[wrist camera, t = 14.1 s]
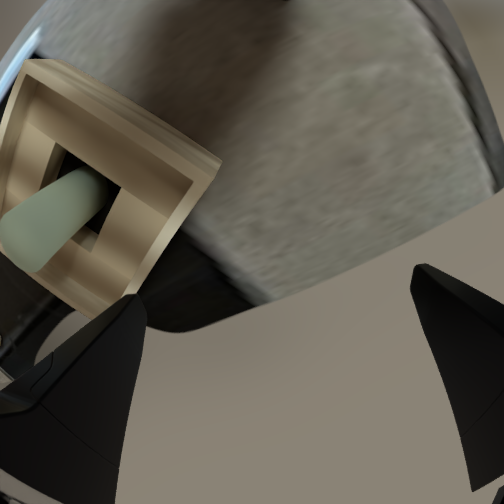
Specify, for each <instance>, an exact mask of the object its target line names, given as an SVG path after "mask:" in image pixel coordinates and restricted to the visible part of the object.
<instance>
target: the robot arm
mask: <svg viewBox="0 0 504 504" xmlns="http://www.w3.org/2000/svg"><path fill="white" fill-rule="evenodd" d="M410 291H411V295H412V298H413V301H414V304H415V307H416V310H417V313H418V316H419V319H420V322H421V325H422V328H423V331H424V334H425V336H426V338H427V341H428V343H429V346H430V348H431V351H432V353H433V356H434V358H435V361H436V364H437V366H438V369H439V372H440V375H441V377H442V380H443V383H444V386H445V388H446V392H447V394H448V398H449V400H450V404H451V407H452V410H453V414H454V417H455V421H456V424H457V428H458V431H459V435H460V437H461V443H462V447H463V451H464V456H465V460H466V465H467V469H468V474H469V479H470V485H471V490H472V492H474V491H476V490H478V489H480V488H481V487H483V486H485V485H487V484H489V483H490V482H492V481H494V480H495V479H497V478H499V477H500V476H502V475H503V474H504V304H501V303H500V302H498V301H497V300H495V299H493V298H491V297H489V296H488V295H486V294H484V293H482V292H480V291H479V290H477V289H475V288H473V287H471V286H469V285H467V284H465V283H464V282H462V281H460V280H458V279H456V278H454V277H452V276H450V275H448V274H446V273H444V272H442V271H441V270H439V269H437V268H435V267H433V266H430V265H429V264H426V263H425V264H418V265H416V266H415V267H414V269H413V275H412V280H411V284H410ZM146 323H147V313H146V310H145V308H144V306H143V303H142V301H141V299H140V297H139V295H138V294H126V295H124V296H123V297H122V298H120V299H119V300H118V301H116V302H115V303H114V304H112V305H111V306H110V307H108V308H107V309H106V310H105V311H103V312H102V313H101V314H99V315H98V316H97V317H95V318H94V319H93V320H92V321H90V322H89V323H88V324H87V325H85V326H84V327H83V328H81V329H80V330H79V331H78V332H76V333H75V334H74V335H73V336H71V337H70V338H69V339H67V340H66V341H65V342H64V343H63V344H61V345H60V346H59V347H58V348H56V349H55V350H54V352H51V353H50V354H49V355H48V356H46V357H45V358H44V359H43V360H41V361H40V362H39V363H37V364H36V365H35V366H34V367H32V368H31V369H30V370H28V371H27V372H26V373H24V374H23V375H21V376H20V377H19V378H17V379H16V380H14V381H13V382H12V383H10V384H9V385H8V386H6V387H5V388H4V389H2V390H1V391H0V504H115V496H116V489H117V481H118V474H119V466H120V460H121V453H122V447H123V442H124V436H125V431H126V426H127V420H128V415H129V410H130V406H131V401H132V396H133V392H134V387H135V383H136V379H137V374H138V370H139V366H140V361H141V357H142V351H143V343H144V337H145V330H146ZM492 504H504V485H503V486H502V487H500V488H499V489H498V492H497V494H496V496H495V498H494V501H493V503H492Z"/></svg>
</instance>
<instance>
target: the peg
mask: <svg viewBox="0 0 504 504" xmlns="http://www.w3.org/2000/svg"><path fill="white" fill-rule="evenodd" d="M108 195H109V189H108V184H107V181H106V179H105V177H104V176H103V174H101V173H100V172H98V171H97V170H95V169H94V168H92V167H91V166H82V167H79V168H77V169H76V170H74V171H72V172H70V173H68V174H67V175H65V176H63V177H61V178H60V179H58V180H56V181H55V182H53V183H51V184H50V185H48V186H46V187H45V188H43V189H41V190H40V191H38V192H37V193H35V194H34V195H32V196H30V197H29V198H27V199H26V200H24V201H23V202H21V203H20V204H18V205H17V206H16V207H14V208H13V209H11V210H10V211H8V212H7V213H6V214H4V215H3V217H2V219H1V221H0V240H1V243H2V246H3V248H4V250H5V252H6V254H7V256H8V257H9V258H10V260H11V261H12V262H13V263H14V264H15V265H16V266H17V267H19V268H20V269H22V270H24V271H26V272H30V273H34V272H37V271H39V270H40V269H41V268H42V267H43V266H44V265H45V264H46V263H47V262H48V261H49V259H50V258H51V257H52V256H53V255H54V254H55V253H56V252H57V251H58V250H59V249H60V248H61V247H62V246H63V245H64V244H65V243H66V242H67V241H68V240H69V239H70V238H71V237H72V236H73V235H74V234H75V233H76V232H77V231H78V230H79V229H80V228H81V227H82V226H83V225H84V224H85V223H86V222H88V221H89V220H90V219H91V218H92V217H93V216H94V215H95V214H96V213H97V212H98V211H99V210H101V209H102V208H103V207H104V205H105V204H106V202H107V200H108Z"/></svg>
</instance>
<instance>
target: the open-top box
mask: <svg viewBox="0 0 504 504" xmlns="http://www.w3.org/2000/svg"><path fill="white" fill-rule="evenodd" d="M67 150H68V151H69V152H71V153H72V154H74V155H75V156H77V157H78V158H79V159H81V160H82V161H84V162H85V163H87V164H88V165H90V166H91V167H92V168H94V169H95V170H97V171H98V172H100V173H101V174H103V175H104V176H106V177H107V178H108V179H110V180H111V181H113V182H114V183H116V184H117V185H119V186H120V187H122V188H121V190H120V192H119V194H118V196H117V198H116V200H115V202H114V204H113V206H112V208H111V210H110V212H109V214H108V216H107V218H106V220H105V222H104V225H103V227H102V229H101V231H100V233H99V235H98V234H97V233H95V232H94V231H92V230H91V229H89V228H88V227H87V226H85V225H83V226H82V227H81V228H80V229H79V230H78V231H77V232H76V233H75V234H74V235H73V236H72V237H71V238H70V239H69V240H68V241H67V242H66V243H65V244H64V245H63V246H62V247H61V248H60V249H59V250H58V251H57V252H56V253H55V254H54V255H53V256H52V257H51V258H50V259H49V261H48V262H47V263H46V264H45V265H44V266H43V267H42V268H41V269H40V270H39V271H37V272H34V273H30V272H26V271H24V270H23V271H24V272H26V273H27V274H28V275H29V276H31V277H32V278H33V279H35V280H36V281H37V282H38V283H40V284H41V285H42V286H44V287H45V288H46V289H48V290H49V291H50V292H52V293H53V294H54V295H56V296H57V297H59V298H60V299H61V300H63V301H64V302H66V303H67V304H69V305H70V306H71V307H73V308H74V309H76V310H77V311H79V312H80V313H82V314H83V315H85V316H86V317H88V318H89V319H91V320H93V319H94V318H95V317H97V316H98V315H99V314H101V313H102V312H103V311H105V310H106V309H107V308H108V307H110V306H111V305H112V304H114V303H115V302H116V301H118V300H119V299H120V298H122V297H123V296H124V295H126V294H136V293H137V291H138V289H139V288H140V286H141V285H142V283H143V281H144V280H145V278H146V277H147V275H148V274H149V272H150V270H151V269H152V267H153V266H154V264H155V263H156V261H157V260H158V258H159V257H160V255H161V254H162V252H163V251H164V249H165V247H166V246H167V245H168V243H169V242H170V240H171V239H172V237H173V236H174V234H175V233H176V231H177V230H178V228H179V227H180V225H181V224H182V223H183V221H184V220H185V218H186V217H187V215H188V214H189V213H190V211H191V210H192V208H193V207H194V206H195V204H196V203H197V201H198V200H199V199H200V197H201V196H202V194H203V193H204V192H205V190H206V189H207V188H208V186H209V185H210V184H211V182H212V181H213V179H214V178H215V176H216V174H217V172H218V170H219V168H220V166H221V164H222V162H223V161H222V160H221V159H219V158H218V157H216V156H215V155H213V154H212V153H211V152H209V151H208V150H206V149H205V148H203V147H202V146H200V145H199V144H197V143H196V142H194V141H193V140H192V139H190V138H189V137H187V136H186V135H184V134H183V133H181V132H180V131H178V130H177V129H175V128H174V127H172V126H171V125H169V124H168V123H166V122H164V121H163V120H161V119H160V118H158V117H157V116H155V115H154V114H152V113H150V112H149V111H147V110H146V109H144V108H143V107H141V106H139V105H138V104H136V103H135V102H133V101H131V100H130V99H128V98H126V97H125V96H123V95H122V94H120V93H118V92H117V91H115V90H113V89H112V88H110V87H108V86H107V85H105V84H103V83H102V82H100V81H98V80H96V79H95V78H93V77H91V76H89V75H88V74H86V73H84V72H82V71H81V70H79V69H77V68H75V67H74V66H72V65H70V64H68V63H66V62H64V61H63V60H56V59H25V60H24V62H23V65H22V67H21V69H20V72H19V74H18V76H17V79H16V81H15V84H14V86H13V89H12V92H11V94H10V97H9V100H8V103H7V106H6V109H5V112H4V115H3V118H2V121H1V125H0V221H1V219H2V217H3V215H4V214H6V213H7V212H8V211H10V210H11V209H13V208H14V207H16V206H17V205H18V204H20V203H21V202H23V201H24V200H26V199H27V198H29V197H30V196H32V195H34V194H35V193H37V192H38V191H40V190H41V189H43V188H45V187H46V186H48V185H50V184H51V183H53V182H55V181H56V179H57V176H58V173H59V170H60V168H61V165H62V162H63V160H64V157H65V155H66V152H67ZM0 251H1V252H2V253H3V254H4V255H5V256H7V254H6V252H5V250H4V248H3V246H2V243H1V240H0ZM7 257H8V256H7ZM8 258H9V257H8ZM9 259H10V258H9Z"/></svg>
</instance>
